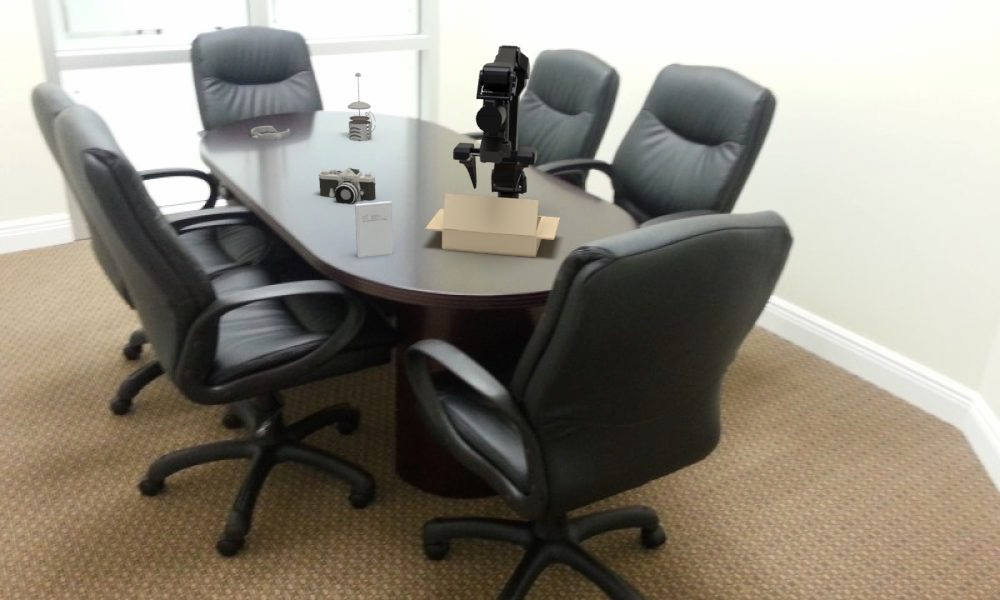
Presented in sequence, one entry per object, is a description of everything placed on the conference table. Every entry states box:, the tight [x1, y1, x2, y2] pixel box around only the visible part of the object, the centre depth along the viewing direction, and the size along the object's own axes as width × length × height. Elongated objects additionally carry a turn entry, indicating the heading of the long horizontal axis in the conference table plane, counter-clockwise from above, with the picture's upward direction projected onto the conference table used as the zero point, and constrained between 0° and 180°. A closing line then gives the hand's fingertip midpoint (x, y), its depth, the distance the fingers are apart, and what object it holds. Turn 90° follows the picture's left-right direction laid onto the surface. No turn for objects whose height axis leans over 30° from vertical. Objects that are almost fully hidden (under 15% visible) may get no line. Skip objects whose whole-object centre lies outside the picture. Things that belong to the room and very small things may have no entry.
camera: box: [318, 167, 377, 205], centre depth 220 cm, size 16×9×10 cm, turn 80°
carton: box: [425, 208, 561, 258], centre depth 194 cm, size 16×30×5 cm, turn 81°
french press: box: [346, 72, 376, 142], centre depth 282 cm, size 10×12×25 cm
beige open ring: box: [250, 125, 291, 141], centre depth 285 cm, size 14×14×5 cm
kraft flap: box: [443, 193, 540, 236], centre depth 185 cm, size 8×22×1 cm
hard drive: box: [354, 200, 394, 258], centre depth 182 cm, size 2×8×12 cm, turn 115°
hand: (494, 189), depth 189 cm, fingers open, 9 cm apart
